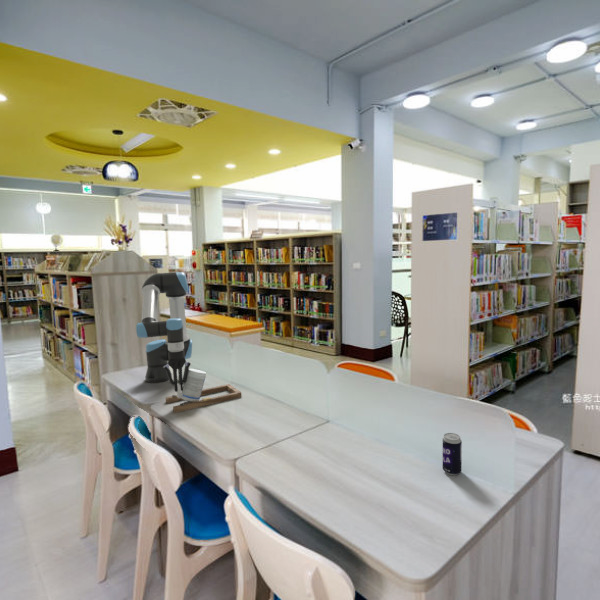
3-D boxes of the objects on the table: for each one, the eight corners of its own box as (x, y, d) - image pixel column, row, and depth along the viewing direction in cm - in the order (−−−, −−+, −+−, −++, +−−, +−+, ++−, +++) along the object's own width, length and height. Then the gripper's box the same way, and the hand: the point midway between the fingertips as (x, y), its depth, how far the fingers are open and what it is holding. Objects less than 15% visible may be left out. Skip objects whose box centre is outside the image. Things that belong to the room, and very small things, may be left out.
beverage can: (446, 465, 131) (446, 430, 130) (463, 470, 128) (464, 435, 127) (439, 472, 127) (439, 437, 126) (458, 478, 124) (458, 442, 122)
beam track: (165, 402, 200) (165, 396, 200) (229, 388, 218) (228, 382, 218) (174, 412, 186) (174, 406, 186) (241, 396, 204) (241, 391, 203)
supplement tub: (202, 403, 198) (210, 374, 199) (185, 401, 191) (194, 372, 192) (192, 397, 204) (200, 369, 206) (176, 396, 198) (184, 367, 199)
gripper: (164, 353, 186) (167, 402, 188) (191, 349, 193) (194, 396, 195) (160, 350, 192) (163, 397, 195) (187, 347, 199) (190, 392, 201)
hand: (179, 397), depth 195 cm, fingers closed
